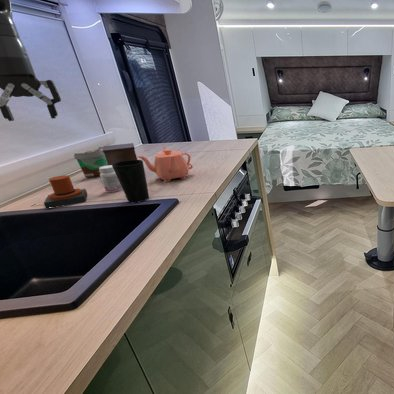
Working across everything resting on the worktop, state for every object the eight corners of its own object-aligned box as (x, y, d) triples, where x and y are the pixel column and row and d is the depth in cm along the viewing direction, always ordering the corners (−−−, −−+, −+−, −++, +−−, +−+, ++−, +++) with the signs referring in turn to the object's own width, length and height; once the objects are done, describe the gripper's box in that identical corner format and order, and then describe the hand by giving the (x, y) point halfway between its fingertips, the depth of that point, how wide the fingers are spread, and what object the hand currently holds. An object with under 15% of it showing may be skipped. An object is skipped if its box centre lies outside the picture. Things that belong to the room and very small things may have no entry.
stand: (46, 209, 86) (43, 202, 85) (50, 200, 92) (48, 195, 91) (85, 201, 91) (83, 195, 90) (87, 194, 97) (85, 188, 96)
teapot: (179, 184, 106) (172, 154, 101) (143, 183, 107) (134, 154, 103) (202, 172, 119) (196, 145, 115) (170, 171, 120) (163, 145, 116)
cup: (158, 195, 95) (148, 160, 91) (138, 204, 88) (126, 167, 84) (139, 194, 97) (128, 159, 92) (118, 202, 90) (105, 165, 85)
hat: (47, 201, 86) (39, 183, 84) (51, 194, 91) (44, 177, 89) (81, 196, 90) (74, 178, 88) (83, 189, 96) (76, 172, 94)
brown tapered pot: (113, 182, 108) (102, 150, 104) (113, 176, 115) (103, 146, 111) (143, 177, 114) (134, 146, 109) (141, 171, 120) (133, 143, 116)
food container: (98, 179, 112) (89, 153, 108) (82, 179, 112) (72, 153, 108) (121, 169, 123) (114, 146, 119) (107, 170, 123) (99, 146, 119)
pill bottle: (104, 190, 100) (96, 167, 97) (121, 186, 103) (113, 164, 100) (107, 193, 97) (98, 169, 94) (124, 190, 100) (116, 166, 97)
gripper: (47, 58, 83) (68, 116, 89) (-28, 55, 75) (0, 120, 81) (42, 56, 77) (65, 118, 83) (-40, 53, 69) (-9, 122, 75)
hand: (33, 119), depth 82 cm, fingers open, 8 cm apart
